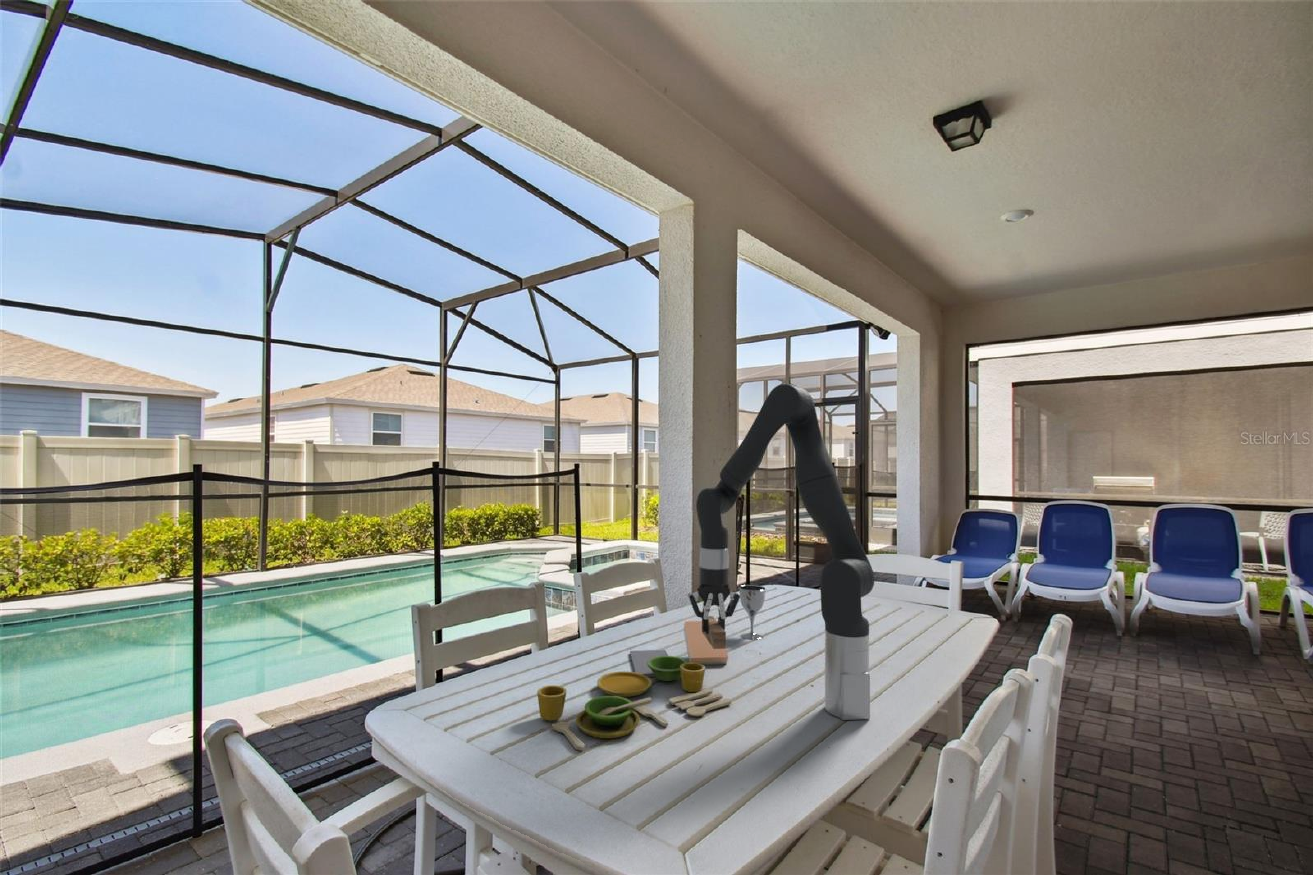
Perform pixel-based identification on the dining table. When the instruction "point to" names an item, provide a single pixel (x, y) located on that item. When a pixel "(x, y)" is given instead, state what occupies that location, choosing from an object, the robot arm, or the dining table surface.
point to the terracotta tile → (701, 646)
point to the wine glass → (752, 606)
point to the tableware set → (617, 712)
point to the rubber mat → (645, 660)
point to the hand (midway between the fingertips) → (713, 632)
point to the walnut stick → (715, 634)
